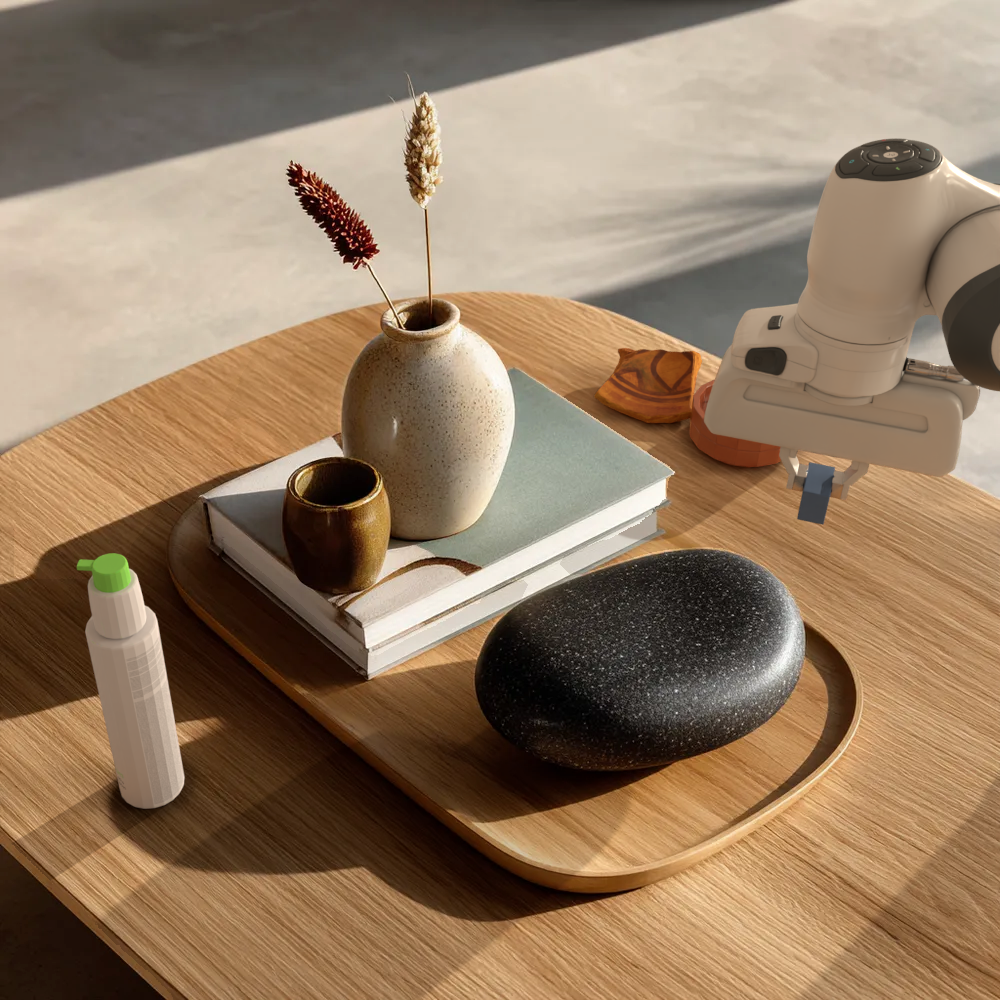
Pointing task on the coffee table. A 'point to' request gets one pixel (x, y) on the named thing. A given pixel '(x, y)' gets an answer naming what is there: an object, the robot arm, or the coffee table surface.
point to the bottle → (132, 684)
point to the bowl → (726, 439)
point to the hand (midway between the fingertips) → (816, 490)
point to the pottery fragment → (652, 385)
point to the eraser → (816, 493)
